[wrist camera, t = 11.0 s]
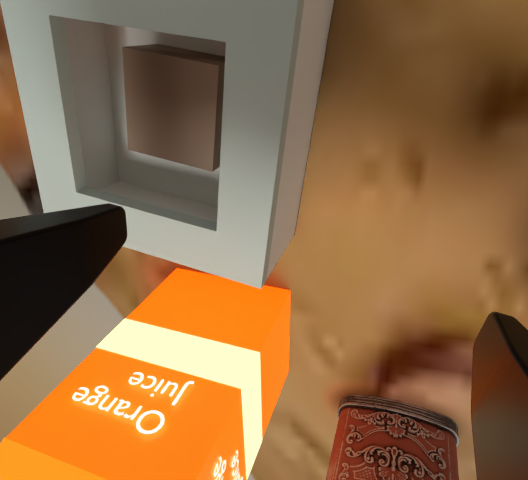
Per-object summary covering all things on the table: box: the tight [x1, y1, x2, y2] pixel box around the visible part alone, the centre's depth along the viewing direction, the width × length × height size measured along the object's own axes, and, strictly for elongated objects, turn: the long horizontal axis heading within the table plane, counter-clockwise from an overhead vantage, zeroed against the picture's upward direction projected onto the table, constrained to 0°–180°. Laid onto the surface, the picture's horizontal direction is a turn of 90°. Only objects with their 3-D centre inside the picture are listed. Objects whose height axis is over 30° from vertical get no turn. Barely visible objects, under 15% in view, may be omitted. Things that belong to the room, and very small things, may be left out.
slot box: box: [0, 0, 334, 289], centre depth 20 cm, size 13×13×6 cm
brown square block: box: [122, 44, 225, 172], centre depth 20 cm, size 5×5×3 cm
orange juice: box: [0, 268, 291, 480], centre depth 21 cm, size 8×9×20 cm
